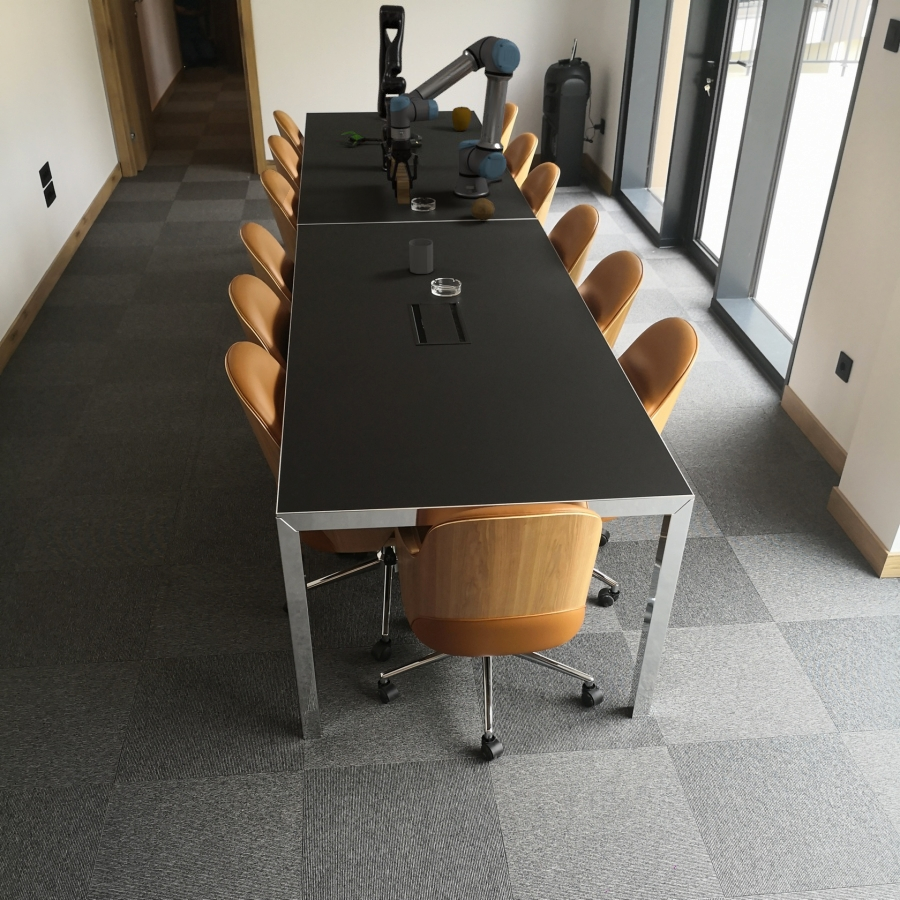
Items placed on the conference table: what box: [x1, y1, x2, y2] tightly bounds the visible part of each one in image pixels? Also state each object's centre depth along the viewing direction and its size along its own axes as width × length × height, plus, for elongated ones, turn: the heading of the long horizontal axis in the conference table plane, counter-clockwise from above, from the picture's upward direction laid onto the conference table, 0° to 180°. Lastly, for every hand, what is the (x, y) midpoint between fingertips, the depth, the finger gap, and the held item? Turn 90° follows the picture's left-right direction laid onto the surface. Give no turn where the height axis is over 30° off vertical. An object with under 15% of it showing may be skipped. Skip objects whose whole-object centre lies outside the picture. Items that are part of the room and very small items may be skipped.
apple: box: [451, 105, 472, 132], centre depth 487 cm, size 11×11×13 cm
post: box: [390, 156, 411, 205], centre depth 371 cm, size 52×5×9 cm, turn 7°
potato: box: [470, 197, 495, 221], centre depth 354 cm, size 10×14×8 cm
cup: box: [408, 237, 434, 275], centre depth 305 cm, size 8×8×10 cm
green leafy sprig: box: [339, 131, 382, 148], centre depth 462 cm, size 6×13×30 cm
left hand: (396, 165), depth 387 cm, fingers closed on post, 4 cm apart
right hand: (402, 196), depth 357 cm, fingers closed on post, 5 cm apart
